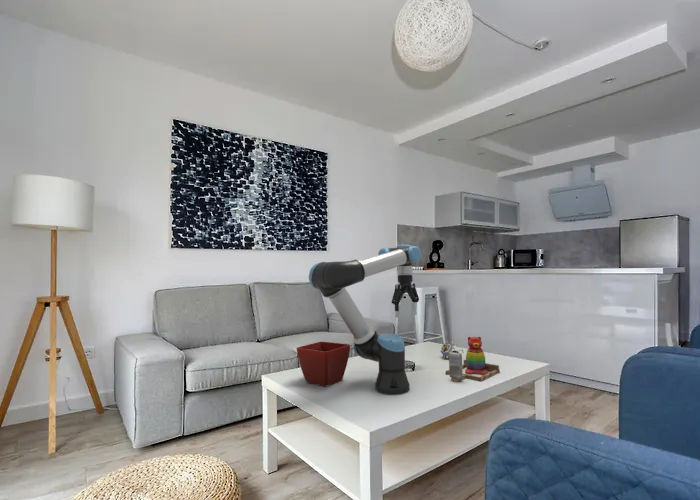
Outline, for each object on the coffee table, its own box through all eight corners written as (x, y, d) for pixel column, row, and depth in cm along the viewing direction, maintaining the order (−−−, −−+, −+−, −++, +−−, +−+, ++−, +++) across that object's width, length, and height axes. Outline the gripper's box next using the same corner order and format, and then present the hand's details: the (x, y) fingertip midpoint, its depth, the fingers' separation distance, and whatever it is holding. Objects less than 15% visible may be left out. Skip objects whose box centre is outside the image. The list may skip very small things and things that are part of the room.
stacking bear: (465, 375, 184) (463, 338, 185) (464, 369, 194) (463, 334, 195) (488, 376, 181) (487, 338, 182) (486, 370, 191) (484, 335, 192)
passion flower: (445, 368, 216) (434, 350, 222) (459, 362, 221) (448, 344, 227) (454, 361, 208) (443, 342, 214) (468, 355, 213) (457, 336, 219)
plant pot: (321, 373, 192) (321, 340, 193) (352, 379, 181) (351, 344, 182) (296, 383, 177) (295, 347, 178) (327, 390, 166) (326, 351, 167)
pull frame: (472, 385, 166) (471, 357, 167) (436, 377, 179) (435, 351, 180) (499, 372, 186) (498, 346, 187) (465, 366, 199) (464, 342, 200)
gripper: (413, 274, 204) (414, 313, 202) (383, 275, 186) (384, 318, 185) (424, 273, 198) (426, 314, 197) (395, 275, 181) (396, 319, 180)
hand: (406, 316), depth 191 cm, fingers open, 13 cm apart
